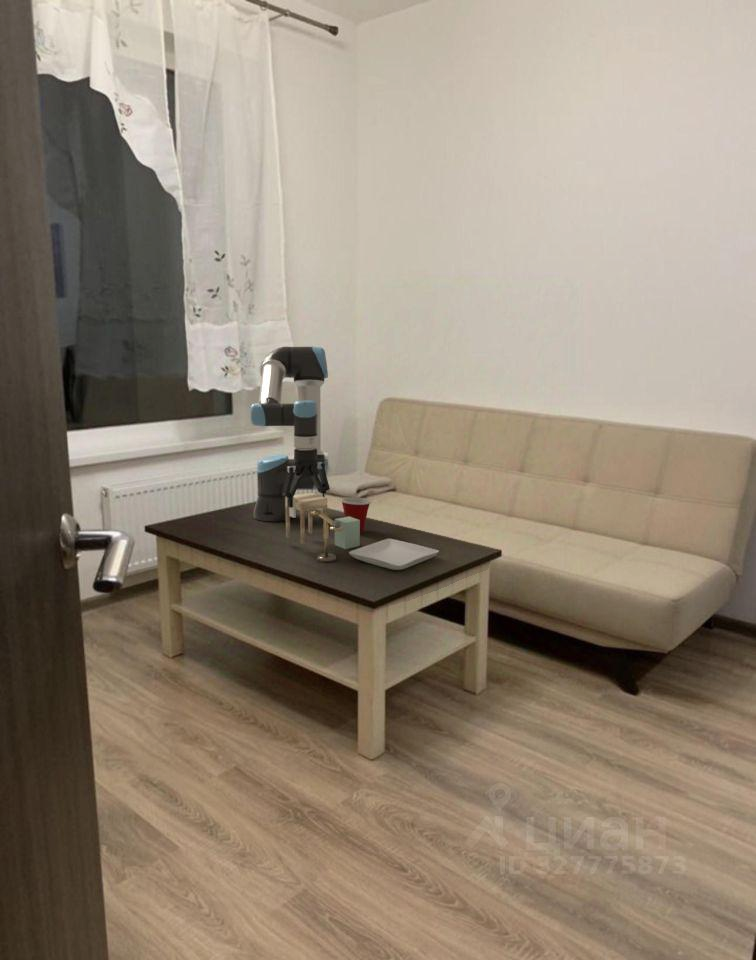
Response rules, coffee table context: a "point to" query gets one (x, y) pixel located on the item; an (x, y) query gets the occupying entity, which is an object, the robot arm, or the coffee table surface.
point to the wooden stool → (304, 504)
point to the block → (348, 533)
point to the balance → (336, 527)
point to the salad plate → (393, 554)
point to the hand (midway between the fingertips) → (306, 514)
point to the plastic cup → (356, 509)
